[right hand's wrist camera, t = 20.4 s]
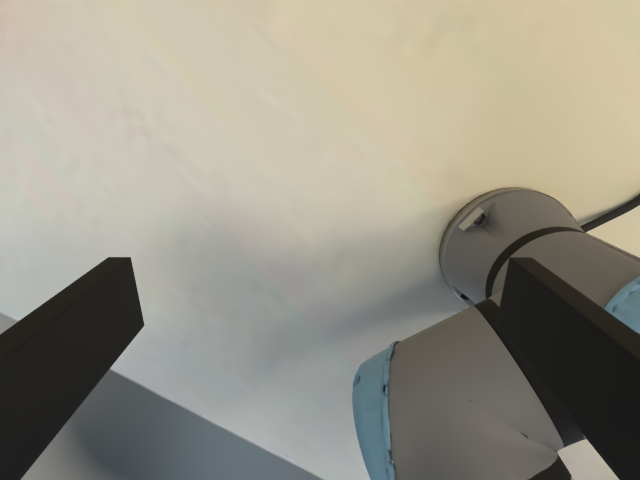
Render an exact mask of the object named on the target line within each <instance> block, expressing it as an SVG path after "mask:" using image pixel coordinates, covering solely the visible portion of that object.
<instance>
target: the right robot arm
mask: <svg viewBox="0 0 640 480" xmlns="http://www.w3.org/2000/svg"><path fill="white" fill-rule="evenodd" d="M639 205H640V196H638V197H637V198H635V199H634V200H632V201H630V202H629V203H627V204H625V205H623V206H621V207H619V208H617V209H615V210H613V211H611V212H609V213H607V214H605V215H603V216H601V217H599V218H597V219H594V220H592V221H590V222H588V223H586V224H584V225H582V226H579V225H578V223H577V222H576V220H575V219H574V217H573V216H572V214H571V213H570V212H569V211H568V209H567V208H566V207H564V206H563V205H562V204H561V203H560V202H559V201H557V200H556V199H554V198H552V197H551V196H549V195H546V194H543V193H541V192H538V191H536V190H532V189H528V188H519V187H512V188H503V189H499V190H495V191H492V192H489V193H486V194H484V195H482V196H480V197H478V198H476V199H475V200H473V201H472V202H470V203H469V204H468V205H466V206H465V207H464V208H463V209H462V210H461V211H460V212H459V213H458V214H457V215H456V216H455V217H454V219H453V220H452V221H451V223H450V225H449V226H448V228H447V230H446V232H445V234H444V237H443V239H442V243H441V247H440V267H441V271H442V274H443V276H444V278H445V280H446V282H447V284H448V285H449V286H450V288H451V289H452V291H453V292H454V293H455V294H456V295H457V296H458V297H459V298H460V299H461V300H462V301H464V302H465V303H466V304H468V305H470V306H471V307H469V308H467V309H465V310H463V311H461V312H459V313H457V314H455V315H453V316H451V317H449V318H447V319H445V320H443V321H441V322H439V323H437V324H435V325H433V326H431V327H429V328H427V329H425V330H423V331H421V332H419V333H417V334H415V335H413V336H411V337H409V338H407V339H405V340H403V341H401V342H399V341H395V342H393V343H392V344H391V345H390V346H389V348H387V349H385V350H384V351H382V352H380V353H378V354H377V355H375V356H373V357H371V358H370V359H368V360H366V361H365V362H364V363H363V364H362V365H361V366H360V367H359V369H358V370H357V372H356V375H355V378H354V383H353V394H352V401H353V414H354V421H355V427H356V432H357V437H358V441H359V445H360V449H361V452H362V456H363V459H364V462H365V465H366V468H367V471H368V474H369V476H370V479H371V480H574V479H573V477H572V476H571V474H570V473H569V471H568V469H567V468H566V466H565V465H564V463H563V461H562V460H561V458H560V457H559V455H558V453H557V451H558V450H560V449H562V448H564V447H566V446H568V445H571V444H573V443H576V442H579V441H581V440H584V439H587V440H588V441H589V442H590V443H591V445H592V446H593V447H594V448H595V450H596V451H597V452H598V453H599V455H600V456H601V457H602V458H603V460H604V461H605V462H606V463H607V465H608V466H609V467H610V468H611V470H612V471H613V472H614V473H615V475H616V476H617V477H618V478H619V480H640V258H639V257H637V256H634V255H632V254H630V253H628V252H626V251H624V250H622V249H619V248H617V247H615V246H613V245H611V244H609V243H607V242H604V241H602V240H600V239H598V238H596V237H594V236H591V235H589V234H587V233H585V232H587V231H589V230H591V229H594V228H596V227H598V226H600V225H602V224H604V223H606V222H608V221H610V220H612V219H614V218H616V217H618V216H620V215H622V214H624V213H626V212H628V211H630V210H632V209H634V208H635V207H637V206H639ZM143 326H144V321H143V316H142V311H141V306H140V301H139V297H138V292H137V287H136V282H135V277H134V272H133V267H132V262H131V257H108V258H107V259H105V260H104V261H103V262H101V263H100V264H98V265H97V266H96V267H94V268H93V269H91V270H90V271H89V272H87V273H86V274H84V275H83V276H82V277H80V278H79V279H77V280H76V281H75V282H73V283H72V284H70V285H69V286H68V287H66V288H65V289H63V290H62V291H61V292H59V293H58V294H56V295H55V296H54V297H52V298H51V299H49V300H48V301H47V302H45V303H44V304H42V305H41V306H40V307H38V308H37V309H35V310H34V311H33V312H31V313H30V314H28V315H27V316H26V317H24V318H23V319H21V320H20V321H19V322H17V323H16V324H14V325H13V326H12V327H10V328H9V329H7V330H6V331H5V332H3V333H2V334H0V480H20V479H21V478H22V477H23V476H24V475H25V473H26V472H27V471H28V470H29V468H30V467H31V466H32V465H33V463H34V462H35V461H36V460H37V458H38V457H39V456H40V455H41V453H42V452H43V451H44V450H45V448H46V447H47V446H48V445H49V443H50V442H51V441H52V440H53V438H54V437H55V436H56V435H57V433H58V432H59V431H60V430H61V428H62V427H63V426H64V425H65V423H66V422H67V421H68V420H69V418H70V417H71V416H72V415H73V413H74V412H75V411H76V410H77V408H78V407H79V406H80V405H81V403H82V402H83V401H84V400H85V398H86V397H87V396H88V395H89V394H90V392H91V391H92V390H93V388H94V387H95V386H96V385H97V384H98V382H99V381H100V380H101V379H102V377H103V376H104V375H105V374H106V372H107V371H108V370H109V369H110V367H111V366H112V365H113V364H114V362H115V361H116V360H117V359H118V357H119V356H120V355H121V354H122V352H123V351H124V350H125V349H126V347H127V346H128V345H129V344H130V342H131V341H132V340H133V339H134V337H135V336H136V335H137V334H138V332H139V331H140V330H141V329H142V327H143Z"/></svg>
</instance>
